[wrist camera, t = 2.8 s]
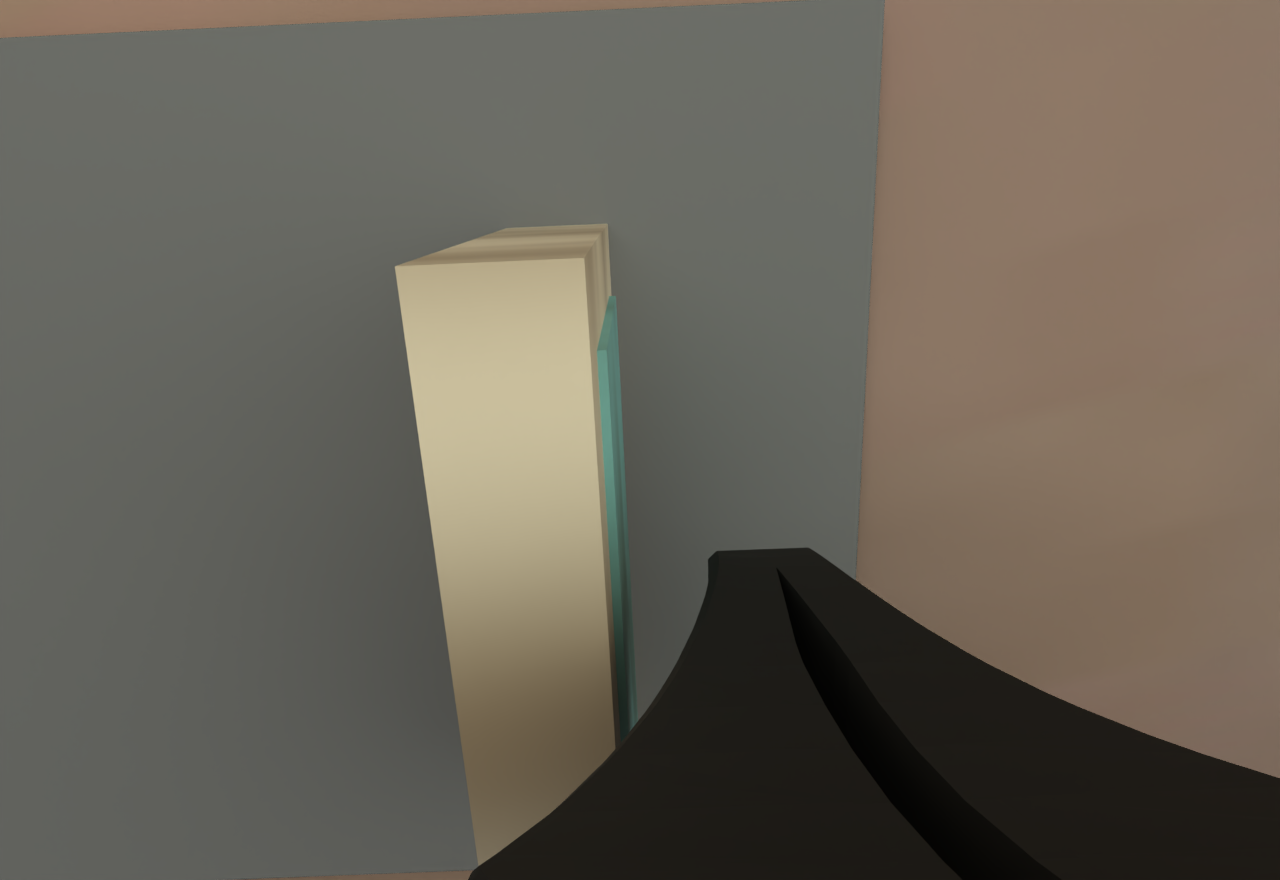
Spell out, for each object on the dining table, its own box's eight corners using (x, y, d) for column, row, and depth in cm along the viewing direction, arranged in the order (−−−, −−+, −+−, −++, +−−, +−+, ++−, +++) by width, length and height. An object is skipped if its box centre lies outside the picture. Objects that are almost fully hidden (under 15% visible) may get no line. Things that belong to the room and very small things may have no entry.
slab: (641, 745, 15) (644, 1076, 10) (555, 749, 15) (508, 1082, 10) (614, 223, 12) (596, 257, 7) (506, 228, 12) (394, 265, 7)
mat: (834, 833, 17) (841, 855, 16) (12, 865, 17) (-9, 888, 16) (873, 5, 12) (884, -4, 11) (-296, 60, 12) (-343, 54, 11)
